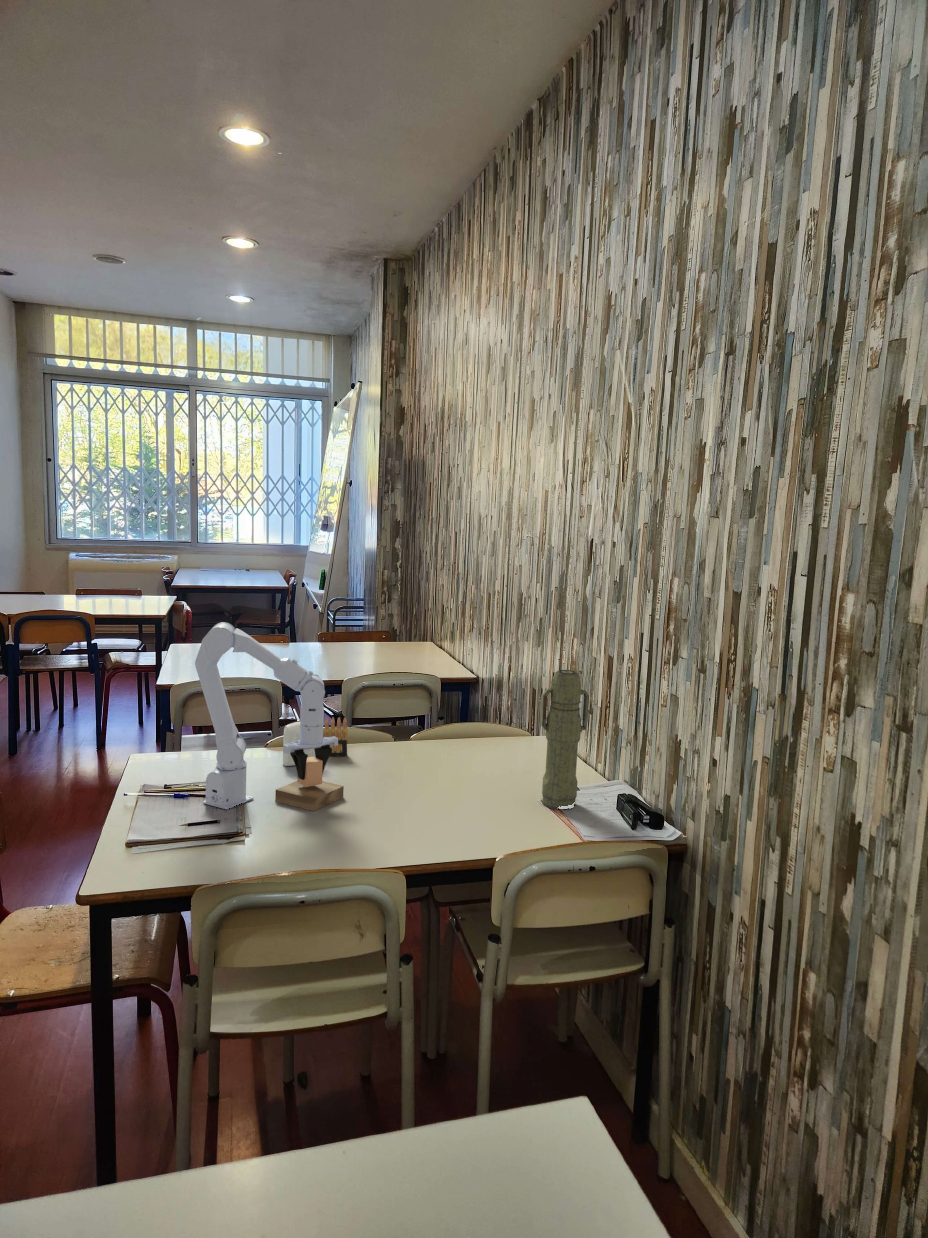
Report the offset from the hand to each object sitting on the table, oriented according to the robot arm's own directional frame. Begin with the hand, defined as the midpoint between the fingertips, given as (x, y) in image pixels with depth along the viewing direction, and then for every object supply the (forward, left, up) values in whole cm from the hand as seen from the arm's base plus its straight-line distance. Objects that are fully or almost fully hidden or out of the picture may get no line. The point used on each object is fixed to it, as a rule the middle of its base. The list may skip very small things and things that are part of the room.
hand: (310, 776), depth 199 cm
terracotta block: (0, 0, -2) cm, 2 cm away
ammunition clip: (+33, +19, -6) cm, 39 cm away
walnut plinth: (0, 0, -6) cm, 6 cm away
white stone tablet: (+22, +21, -6) cm, 31 cm away
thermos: (+34, -54, -6) cm, 64 cm away
